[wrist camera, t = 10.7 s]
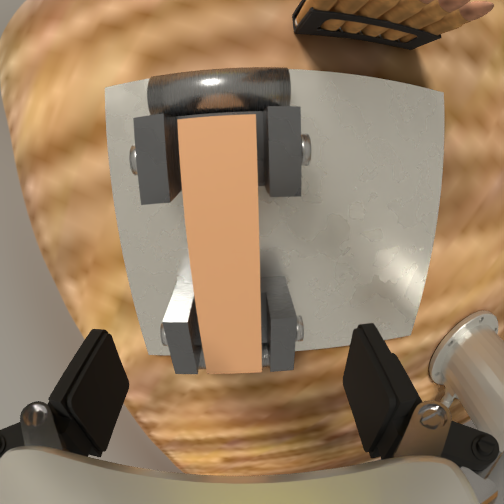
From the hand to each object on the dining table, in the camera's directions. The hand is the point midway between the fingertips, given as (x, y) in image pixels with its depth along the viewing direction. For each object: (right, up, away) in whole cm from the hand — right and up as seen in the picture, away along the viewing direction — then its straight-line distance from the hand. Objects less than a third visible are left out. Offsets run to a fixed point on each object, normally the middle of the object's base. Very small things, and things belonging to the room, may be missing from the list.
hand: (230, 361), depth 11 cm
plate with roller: (+4, +6, +14) cm, 15 cm away
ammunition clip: (+9, +22, +7) cm, 25 cm away
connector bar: (-1, +5, +10) cm, 11 cm away
